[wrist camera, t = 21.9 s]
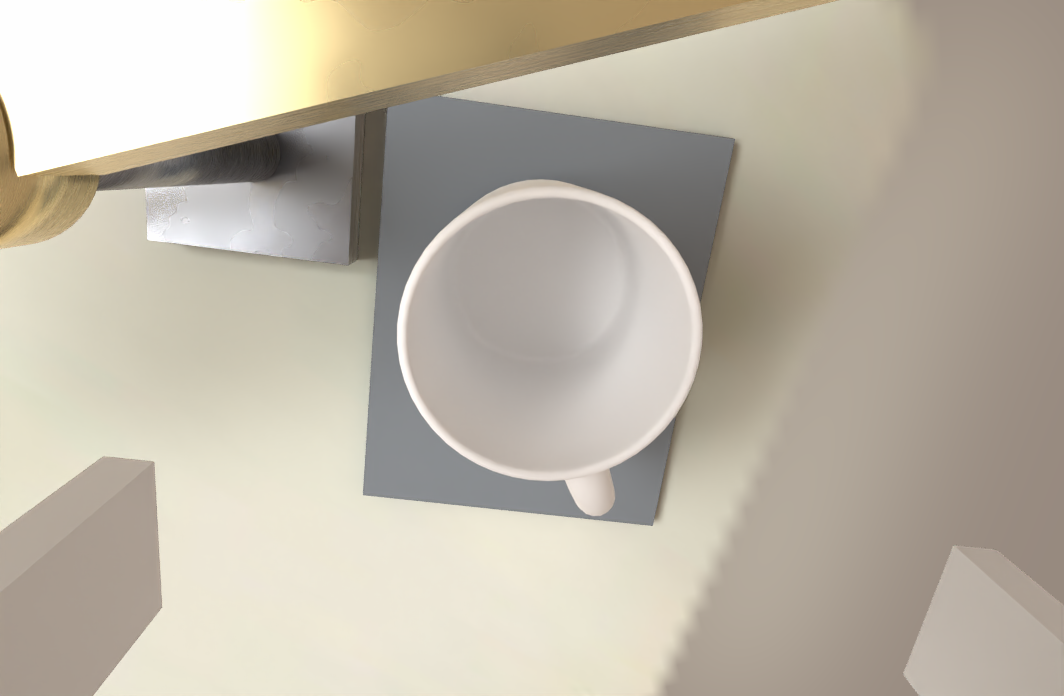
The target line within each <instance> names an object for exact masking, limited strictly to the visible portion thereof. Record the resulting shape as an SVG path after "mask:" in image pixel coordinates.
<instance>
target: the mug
mask: <svg viewBox="0 0 1064 696" xmlns="http://www.w3.org/2000/svg"><path fill="white" fill-rule="evenodd" d="M702 331H703V323H702V314H701V305H700V301H699V297H698V294H697V290H696V286H695V284H694V281H693V279H692V276H691V274H690V271H689V269H688V267H687V265H686V264H685V262H684V260H683V258H682V257H681V255H680V253H679V252H678V250H677V249H676V247H675V246H674V245H673V244H672V242H671V241H670V240H669V239H668V237H667V236H666V235H665V234H664V233H663V232H662V231H661V230H660V229H659V228H658V227H657V226H656V225H655V224H654V223H653V222H652V221H651V220H649V219H648V218H646V217H645V216H644V215H642V214H641V213H639V212H638V211H637V210H635V209H634V208H632V207H630V206H628V205H626V204H624V203H623V202H621V201H619V200H617V199H615V198H612V197H609V196H607V195H604V194H601V193H598V192H596V191H593V190H589V189H586V188H583V187H580V186H576V185H573V184H570V183H566V182H561V181H556V180H544V179H538V180H525V181H520V182H515V183H512V184H509V185H506V186H503V187H500V188H498V189H496V190H494V191H492V192H490V193H488V194H486V195H485V196H483V197H482V198H481V199H479V200H478V201H476V202H475V203H474V204H472V205H471V206H470V207H469V208H467V209H466V210H465V211H464V212H462V213H461V214H460V215H459V216H457V217H456V218H455V219H454V220H453V221H451V222H450V223H449V224H448V225H447V226H446V227H445V228H444V229H443V230H441V231H440V232H439V233H438V234H437V236H436V237H435V238H434V239H433V240H432V241H431V243H430V244H429V245H428V246H427V247H426V249H425V250H424V252H423V253H422V255H421V256H420V258H419V260H418V261H417V263H416V264H415V266H414V268H413V270H412V272H411V275H410V277H409V279H408V281H407V284H406V286H405V290H404V293H403V296H402V300H401V303H400V309H399V315H398V322H397V347H398V355H399V362H400V366H401V370H402V374H403V378H404V381H405V383H406V386H407V388H408V391H409V393H410V396H411V398H412V400H413V401H414V403H415V405H416V407H417V408H418V410H419V412H420V413H421V415H422V416H423V418H424V419H425V420H426V421H427V423H428V424H429V425H430V427H431V428H432V429H433V430H434V431H435V432H436V433H437V434H438V435H439V436H440V437H441V438H442V439H443V440H444V441H445V443H447V444H448V445H449V446H450V447H452V448H453V449H454V450H456V451H457V452H458V453H459V454H461V455H462V456H464V457H466V458H468V459H469V460H471V461H473V462H474V463H476V464H478V465H480V466H482V467H485V468H487V469H489V470H492V471H494V472H497V473H500V474H504V475H507V476H510V477H515V478H521V479H527V480H538V481H558V480H565V482H566V484H567V486H568V489H569V491H570V493H571V495H572V497H573V499H574V501H575V503H576V504H577V506H578V507H579V508H580V509H581V510H582V511H583V512H584V513H585V514H588V515H591V516H601V515H603V514H605V513H607V512H608V511H609V510H610V509H611V508H612V506H613V504H614V501H615V491H614V486H613V482H612V478H611V474H610V469H609V468H611V467H614V466H616V465H618V464H620V463H622V462H624V461H625V460H627V459H629V458H631V457H632V456H634V455H636V454H637V453H638V452H640V451H641V450H642V449H644V448H645V447H646V446H648V445H649V444H650V443H651V442H652V441H653V440H654V439H655V438H656V437H657V436H658V435H659V434H661V433H662V432H663V431H664V430H665V428H666V427H667V426H668V425H669V423H670V422H671V421H672V419H673V418H674V417H675V416H676V414H677V413H678V411H679V409H680V408H681V406H682V404H683V403H684V401H685V399H686V398H687V395H688V393H689V391H690V389H691V386H692V384H693V382H694V379H695V375H696V372H697V368H698V365H699V361H700V355H701V348H702Z"/></svg>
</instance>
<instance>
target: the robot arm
mask: <svg viewBox="0 0 1064 696" xmlns="http://www.w3.org/2000/svg"><path fill="white" fill-rule="evenodd" d="M161 608H162V596H161V578H160V559H159V541H158V522H157V504H156V485H155V467H154V462H153V461H144V460H134V459H124V458H115V457H105V456H103V457H102V458H100V459H99V460H98V461H96V462H95V463H94V464H92V465H91V466H89V467H88V468H87V469H85V470H84V471H83V472H81V473H80V474H78V475H77V476H76V477H74V478H73V479H72V480H70V481H69V482H68V483H66V484H65V485H63V486H62V487H61V488H59V489H58V490H57V491H55V492H54V493H53V494H51V495H50V496H48V497H47V498H46V499H44V500H43V501H42V502H40V503H39V504H37V505H36V506H35V507H33V508H32V509H31V510H29V511H28V512H27V513H25V514H24V515H22V516H21V517H20V518H18V519H17V520H16V521H14V522H13V523H12V524H10V525H9V526H7V527H6V528H5V529H3V530H2V531H1V532H0V696H93V695H94V694H95V692H96V691H97V690H98V689H99V687H100V686H101V685H102V683H103V682H104V681H105V680H106V678H107V677H108V676H109V675H110V673H111V672H112V671H113V669H114V668H115V667H116V666H117V664H118V663H119V662H120V660H121V659H122V658H123V657H124V655H125V654H126V653H127V652H128V650H129V649H130V648H131V646H132V645H133V644H134V643H135V641H136V640H137V639H138V637H139V636H140V635H141V634H142V632H143V631H144V630H145V628H146V627H147V626H148V625H149V623H150V622H151V621H152V620H153V618H154V617H155V616H156V614H157V613H158V612H159V611H160V609H161ZM903 675H904V676H905V677H906V679H907V680H908V681H909V683H910V684H911V686H912V687H913V688H914V690H915V691H916V692H917V693H918V695H919V696H1064V605H1063V604H1062V603H1060V602H1059V601H1058V600H1057V599H1056V598H1054V597H1053V596H1052V595H1051V594H1049V593H1048V592H1047V591H1046V590H1045V589H1043V588H1042V587H1041V586H1040V585H1038V584H1037V583H1036V582H1035V581H1034V580H1033V579H1031V578H1030V577H1029V576H1028V575H1027V574H1025V573H1024V572H1023V571H1022V570H1020V569H1019V568H1018V567H1017V566H1015V565H1014V564H1013V563H1012V562H1011V561H1009V560H1008V559H1007V558H1006V557H1005V556H1003V555H1002V554H1001V553H1000V552H999V551H997V550H995V549H986V548H976V547H967V546H957V545H953V548H952V550H951V553H950V556H949V558H948V561H947V563H946V566H945V568H944V571H943V573H942V576H941V578H940V581H939V584H938V587H937V589H936V591H935V594H934V596H933V599H932V602H931V604H930V607H929V609H928V612H927V614H926V617H925V619H924V622H923V625H922V627H921V630H920V632H919V635H918V638H917V640H916V642H915V645H914V648H913V650H912V653H911V655H910V658H909V661H908V663H907V665H906V668H905V670H904V673H903Z"/></svg>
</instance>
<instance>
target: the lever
mask: <svg viewBox="0 0 1064 696" xmlns="http://www.w3.org/2000/svg"><path fill="white" fill-rule="evenodd" d="M834 1H838V0H0V249H4V248H10V247H16V246H23V245H29V244H35V243H39V242H42V241H45V240H49V239H51V238H53V237H55V236H57V235H59V234H61V233H62V232H64V231H65V230H67V229H68V228H70V227H71V226H72V225H73V224H74V223H75V222H76V221H77V220H78V219H79V218H80V217H81V216H82V215H83V214H84V212H85V211H86V210H87V208H88V207H89V205H90V203H91V201H92V199H93V197H94V196H95V193H96V190H97V187H98V184H99V181H100V175H106V174H110V173H115V172H119V171H123V170H127V169H131V168H136V167H140V166H144V165H148V164H152V163H157V162H161V161H165V160H169V159H173V158H178V157H182V156H186V155H190V154H194V153H199V152H203V151H207V150H211V149H215V148H220V147H224V146H228V145H232V144H236V143H241V142H245V141H249V140H253V139H258V138H262V137H266V136H270V135H274V134H279V133H283V132H287V131H291V130H295V129H300V128H304V127H308V126H312V125H316V124H321V123H325V122H329V121H333V120H337V119H342V118H346V117H350V116H354V115H358V114H363V113H367V112H371V111H375V110H379V109H384V108H388V107H392V106H396V105H400V104H405V103H409V102H413V101H417V100H421V99H426V98H430V97H434V96H438V95H443V94H447V93H451V92H455V91H459V90H464V89H468V88H472V87H476V86H480V85H485V84H489V83H493V82H497V81H501V80H506V79H510V78H514V77H518V76H522V75H527V74H531V73H535V72H539V71H543V70H548V69H552V68H556V67H560V66H564V65H569V64H573V63H577V62H581V61H585V60H590V59H594V58H598V57H602V56H606V55H611V54H615V53H619V52H623V51H628V50H632V49H636V48H640V47H644V46H649V45H653V44H657V43H661V42H665V41H670V40H674V39H678V38H682V37H686V36H691V35H695V34H699V33H703V32H707V31H712V30H716V29H720V28H724V27H728V26H733V25H737V24H741V23H745V22H749V21H754V20H758V19H762V18H766V17H770V16H775V15H779V14H783V13H787V12H791V11H796V10H800V9H804V8H808V7H813V6H817V5H821V4H825V3H829V2H834Z"/></svg>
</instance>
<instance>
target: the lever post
mask: <svg viewBox="0 0 1064 696" xmlns="http://www.w3.org/2000/svg"><path fill="white" fill-rule="evenodd" d="M364 128H365V113H363V114H358V115H354V116H350V117H346V118H342V119H337V120H333V121H329V122H325V123H321V124H316V125H312V126H308V127H304V128H300V129H295V130H291V131H287V132H283V133H279V134H274V135H270V136H266V137H262V138H258V139H253V140H249V141H245V142H241V143H236V144H232V145H228V146H224V147H220V148H215V149H211V150H207V151H203V152H199V153H194V154H190V155H186V156H182V157H178V158H173V159H169V160H165V161H161V162H157V163H152V164H148V165H144V166H140V167H136V168H131V169H127V170H123V171H119V172H115V173H110V174H106V175H100V181H99V184H98V187H97V190H96V191H103V190H121V189H139V188H146V213H147V238H148V240H152V241H160V242H168V243H176V244H184V245H192V246H200V247H207V248H215V249H223V250H231V251H239V252H247V253H255V254H262V255H270V256H278V257H286V258H294V259H302V260H310V261H318V262H325V263H333V264H341V265H350V264H351V263H353V262H355V261H357V258H358V239H359V221H360V202H361V184H362V165H363V147H364Z"/></svg>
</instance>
